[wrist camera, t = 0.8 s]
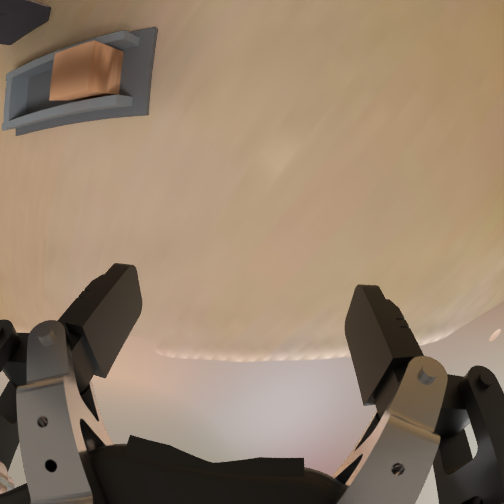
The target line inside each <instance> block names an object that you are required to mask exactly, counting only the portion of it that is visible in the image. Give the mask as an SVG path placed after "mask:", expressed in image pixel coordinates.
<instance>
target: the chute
mask: <svg viewBox="0 0 504 504" xmlns="http://www.w3.org/2000/svg"><path fill="white" fill-rule="evenodd" d="M157 32H158V29H157V28H156V27H155V28H149V29H143V30H137V31H132V32H128V31H126V30H123V31H119V32H114V33H110V34H107V35H103V36H99V37H96V38H92V39H89V40H86V41H82V42H79V43H76V44H73V45H71V46H68V47H65V48H62V49H60V50H57V51H55V52H52V53H50V54H47V55H45V56H42V57H40V58H38V59H36V60H33V61H31V62H29V63H27V64H25V65H23V66H21V67H19V68H17V69H15V70H13V71H11V72H9V73H8V74H7V75H6V81H7V84H6V93H5V105H4V123H2V131H4V130H9V129H14V128H16V136H19V135H22V134H26V133H30V132H34V131H39V130H43V129H48V128H52V127H57V126H63V125H68V124H74V123H80V122H86V121H93V120H101V119H109V118H119V117H130V116H143V115H149V101H150V88H151V78H152V69H153V60H154V52H155V45H156V39H157ZM94 40H95V41H97V42H100V43H103V44H105V45H108V46H110V47H113V48H115V49H118V50H120V51H123V52H124V55H123V62H122V70H121V79H120V90H119V95H110V96H104V97H98V98H92V99H87V100H82V101H69V100H53V101H49V98H50V86H51V77H52V70H53V63H54V56H55V53H58V52H60V51H63V50H66V49H69V48H72V47H74V46H77V45H81V44H84V43H87V42H90V41H94Z"/></svg>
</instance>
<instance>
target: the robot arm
mask: <svg viewBox="0 0 504 504" xmlns="http://www.w3.org/2000/svg"><path fill="white" fill-rule="evenodd" d="M141 310H142V297H141V292H140V286H139V281H138V275H137V270H136V267H135V266H134V265H128V264H119V263H115V264H114V265H113V266H112V267H111V268H110V269H109V270H108V271H107V272H106V273H105V274H104V275H101V276H99V277H98V278H96V279H94V280H93V281H92V282H91V283H90V284H89V285H88V286H87V287H86V288H85V291H83V292H82V293H81V294H80V295H79V298H76V300H75V301H74V302H73V303H72V304H71V305H70V307H69V308H68V309H67V310H66V311H65V312H64V314H63V315H62V316H61V317H60V319H59V320H58V321H55V320H49V321H44V322H42V323H40V324H38V325H37V326H35V327H34V328H33V329H32V330H31V332H30V333H17V332H16V330H15V328H14V326H13V324H12V323H11V322H10V321H9V320H0V372H1V371H3V372H4V373H5V375H6V376H7V377H8V379H9V380H10V381H9V382H8V384H7V386H6V388H5V389H4V391H3V393H2V395H1V396H0V504H415V502H416V500H417V498H418V496H419V494H420V492H421V490H422V487H423V485H424V483H425V480H426V478H427V476H428V473H429V471H430V468H431V466H432V463H433V468H434V473H435V478H436V485H437V491H438V498H439V504H504V393H503V391H502V389H501V387H500V385H499V383H498V380H497V379H496V377H495V375H494V374H493V373H492V372H491V371H490V370H489V369H487V368H485V367H483V366H474V367H472V368H471V369H470V370H469V371H468V373H467V374H466V376H465V377H461V376H455V375H449V374H447V373H446V370H445V369H444V367H443V366H442V365H441V364H440V363H439V362H438V361H437V360H435V359H433V358H430V357H427V356H424V355H423V353H422V351H421V349H420V347H419V345H418V343H417V341H416V339H415V337H414V335H413V333H412V331H411V329H410V328H409V326H408V324H407V322H406V320H404V316H403V315H402V313H401V311H400V309H399V308H398V307H397V306H396V305H395V304H394V303H393V302H392V301H390V300H388V299H385V297H384V295H383V293H382V291H381V290H380V288H379V286H377V285H357V286H356V288H355V291H354V294H353V298H352V301H351V304H350V307H349V310H348V313H347V316H346V320H345V335H346V339H347V342H348V346H349V350H350V353H351V357H352V361H353V364H354V368H355V372H356V376H357V380H358V384H359V388H360V392H361V397H362V401H363V405H364V406H367V405H376V408H377V411H376V412H375V414H374V415H373V417H372V419H371V421H370V423H369V424H368V426H367V428H366V429H365V431H364V433H363V434H362V436H361V438H360V439H359V441H358V443H357V444H356V446H355V448H354V449H353V451H352V452H351V453H350V455H349V456H348V458H347V459H346V460H345V461H344V463H343V464H342V465H341V466H340V467H339V469H338V470H337V471H336V472H335V474H334V475H333V476H332V477H331V476H329V475H327V474H325V473H322V472H320V471H317V470H313V469H310V468H305V467H304V458H262V457H261V458H260V457H259V458H253V459H247V460H238V461H230V462H220V463H212V462H208V461H205V460H202V459H200V458H198V457H195V456H193V455H190V454H188V453H186V452H183V451H181V450H178V449H176V448H174V447H172V446H170V445H166V444H162V443H158V442H154V441H150V440H146V439H142V438H139V437H135V436H132V435H130V437H129V440H128V443H127V444H113V442H112V440H111V438H110V436H109V435H108V433H107V431H106V429H105V426H104V423H103V420H102V417H101V414H100V410H99V407H98V403H97V399H96V396H95V392H94V388H93V385H92V382H91V379H92V377H93V375H96V376H99V377H103V378H106V376H107V374H108V372H109V371H110V369H111V367H112V365H113V363H114V361H115V359H116V357H117V355H118V353H119V352H120V350H121V348H122V346H123V344H124V342H125V340H126V339H127V337H128V335H129V333H130V332H131V330H132V328H133V326H134V325H135V323H136V321H137V319H138V318H139V316H140V314H141ZM470 422H471V425H472V428H473V431H474V434H475V437H476V441H477V444H478V451H477V454H476V456H475V457H474V459H473V458H472V454H471V450H470V447H469V443H468V440H467V437H466V433H465V430H464V428H465V427H466V426H467V425H468V424H469V423H470ZM19 442H20V448H21V455H22V461H23V467H24V472H25V476H26V481H27V483H26V484H24V485H21V486H19V487H17V488H14V482H13V480H12V479H11V478H10V477H9V476H8V470H9V467H10V464H11V462H12V459H13V456H14V454H15V451H16V449H17V446H18V444H19Z"/></svg>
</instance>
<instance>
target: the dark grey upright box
mask: <svg viewBox="0 0 504 504" xmlns="http://www.w3.org/2000/svg"><path fill="white" fill-rule="evenodd" d="M50 9H51V8H50V7H48V6H47V5H44V4H41V3H38V2H34V1H29V0H0V44H5V45H11V44H13V43H14V42H16V41H17V40H19V39H20V38H22V37H23V36H25V35H26V34H28V33H29V32H31V31H32V30H34V29H35V28H37V27H39V26H40V25H42V24H44V23H45V22H47V21H48V18H49V14H50Z"/></svg>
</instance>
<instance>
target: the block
mask: <svg viewBox="0 0 504 504" xmlns="http://www.w3.org/2000/svg"><path fill="white" fill-rule="evenodd" d="M123 55H124V52H123V51H120V50H118V49H115V48H113V47H110V46H108V45H105V44H103V43H100V42H97V41H95V40H94V41H90V42H87V43H84V44H81V45H77V46H74V47H72V48H69V49H66V50H63V51H60V52H58V53H55V56H54V63H53V70H52V77H51V86H50V98H49V101H53V100H69V101H82V100H87V99H92V98H98V97H104V96H110V95H119V90H120V79H121V70H122V62H123Z"/></svg>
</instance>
